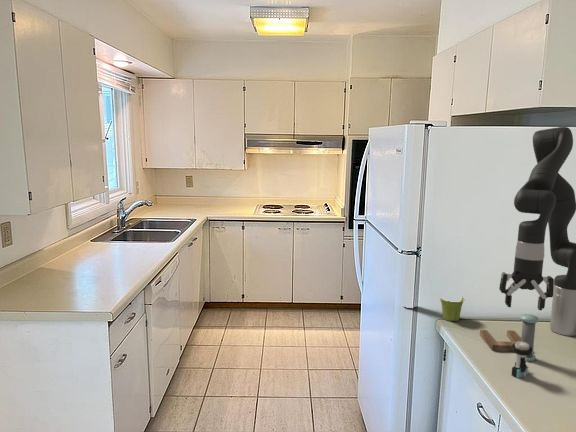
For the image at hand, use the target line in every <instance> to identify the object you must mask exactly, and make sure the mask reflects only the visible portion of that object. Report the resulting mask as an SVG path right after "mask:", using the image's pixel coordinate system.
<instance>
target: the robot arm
mask: <svg viewBox="0 0 576 432" xmlns="http://www.w3.org/2000/svg"><path fill="white" fill-rule="evenodd" d="M532 135H533V136H532V145H533V146H532V147H533V152H534V156H535V160H536V163H537V164H535V165H534V167H533V169H532V170H531V172H530V175H529V177H528V180H527V181H526V183H524V185H523V186H522V187H521V188H520V189H519V190H518V191H517V193H516V194H515V195H514V199H513V205H514V207H515V209H516V211H518V212H519V213H521V214H532V215H535V214H536V215H539V216H538V218H537V219H533V220H524V221H521V222H520V223H519V224H518V233H517V234H518V235H517V240H516V241H517V242H516V245H515V253H514V254H515V255H514V262H513V272H512V274H511V273H506V272H503V271H502V272H501V275H500V283H499V288H498V289H499V291H500V292H501V294H504V295H505V298H504V303H505V305H506V306H507V308H512V298H513V296H512V295H513V293H515V292H516V291H517V290H519V289H520V290H529V291H533V290H535V291H536V292H537V294H538V295H539V296H538V300H537V310H538V311H543V310H544V309H545V307H546V299H547V298H548V299H549V298H552V299H551V311H550V312H551V313H550V314H551V315H550V323H549V329H550V330H551V332H554V333H556V334H559V335H563V336H568V337H570V336H571V337H573V336H576V242H572V241H570V240H569V236H568V228H569V224H570V222H571V221H572V219H573V217H574V215H575V213H576V193H575V190H574V187H573V186H572V185H571V184H570V183H569V181H568V180H566V179H565V178H564V177H563V176H562V175H561V174H560V173H559V172H560V169H562V166H563V165H564V163H565V162H566V160H567V158H569V156H570V154H571V152H572V150H573V146H574V137H573V136H574V135H573V133H572V130H571V129H570V128H569V127H568V126H559V127H553V128H548V129H540V130H537V131H535V132H534V133H533V134H532ZM547 225H548V231H549V249H550V250H549V251H550V256H551V260H552V261H553V262H554V263H555V264H556V265H558V266H560V267H563V268H567V270H566V271H567V272H566V274H559V275H556V276H554V278H553V277H552V276H550V275H547V276H543V267H544V260H545V259H544V258H545V239H546V231H547ZM510 279H512V281H513V282H512V283H511V284H510V285H509V287H507V282H508V281H510ZM543 282H544V283H545V285H546V291H545V292H544V291H543V290H542V288H541V287H540V285H541V283H543Z"/></svg>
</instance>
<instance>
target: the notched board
mask: <svg viewBox="0 0 576 432" xmlns="http://www.w3.org/2000/svg"><path fill="white" fill-rule="evenodd" d="M479 336H480V338H481V339H482V340H483V342H484V343H485V344H486V345H487V346H488V348H489V349H490V350H491V351H494V352H513V348H512V345H513V344H514V343H516V342H518V341H521V335H520V334H519V333H517V332H516V330H506V337H507V338H509V340H510V341H505V340H504V341H501V340H500V341H499V340H498V341H497V340H496V338H495V337H494V336H493V335H492V334H491V333H490V332H489V331H488V329H480V330H479Z"/></svg>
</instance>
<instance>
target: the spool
mask: <svg viewBox="0 0 576 432" xmlns="http://www.w3.org/2000/svg"><path fill="white" fill-rule="evenodd" d="M519 317H520V318H519V319H520V321H521V322H522V323H521V325H522V326H521V335H520V337H521V341H522V342H526V343H528V344H529V346H530V347H532V352H531V354H530V355H528V356H526V363H527V362H528V363H530V362H531V363H533V362H535V361H536V355H535V354H534V345H535V344H534V343H535V334H536V333H535V332H536V324H537V323H539V317H538V316H536V315H533V314H531V313H530V314H529V313H523V314H520V316H519Z"/></svg>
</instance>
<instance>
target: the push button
mask: <svg viewBox="0 0 576 432" xmlns="http://www.w3.org/2000/svg"><path fill="white" fill-rule="evenodd" d="M512 348H513V351H512V352H513V353H515V354H516V357H515V358H516V359H515V360H516V361H515V363H514V366H512V367H511V376H513V377H514V378H517V379H520V378H522V377H524V378H525V377H527V375H528V373H529V368H530V366H528V365H527V361H526V356H528V355H530V354H531V352H532V347H530V346H529V344H528V343H526V342H522V341H518V342H516V343H514V344H513V345H512Z"/></svg>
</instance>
